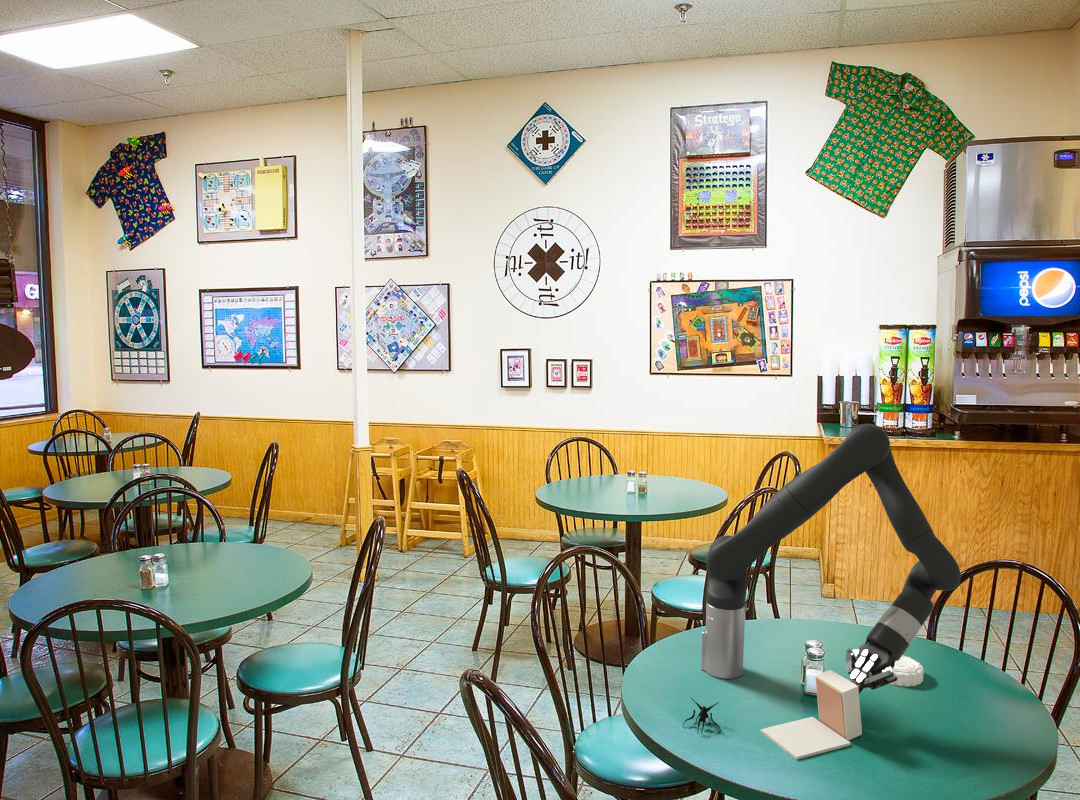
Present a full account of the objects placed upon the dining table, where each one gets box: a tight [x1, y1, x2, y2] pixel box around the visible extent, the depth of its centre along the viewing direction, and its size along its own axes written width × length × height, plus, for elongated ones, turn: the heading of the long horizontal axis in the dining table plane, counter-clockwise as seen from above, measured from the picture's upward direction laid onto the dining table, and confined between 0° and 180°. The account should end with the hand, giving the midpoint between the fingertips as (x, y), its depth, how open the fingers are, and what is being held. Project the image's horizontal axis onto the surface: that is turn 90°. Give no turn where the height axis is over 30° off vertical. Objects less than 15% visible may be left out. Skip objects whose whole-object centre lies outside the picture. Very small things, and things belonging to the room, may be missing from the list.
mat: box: [760, 716, 851, 761], centre depth 160 cm, size 11×14×1 cm
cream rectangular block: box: [815, 669, 863, 742], centre depth 163 cm, size 8×4×11 cm, turn 22°
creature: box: [682, 697, 722, 735], centre depth 164 cm, size 8×5×8 cm
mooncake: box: [889, 654, 924, 687], centre depth 189 cm, size 12×12×4 cm
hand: (847, 697), depth 164 cm, fingers closed
